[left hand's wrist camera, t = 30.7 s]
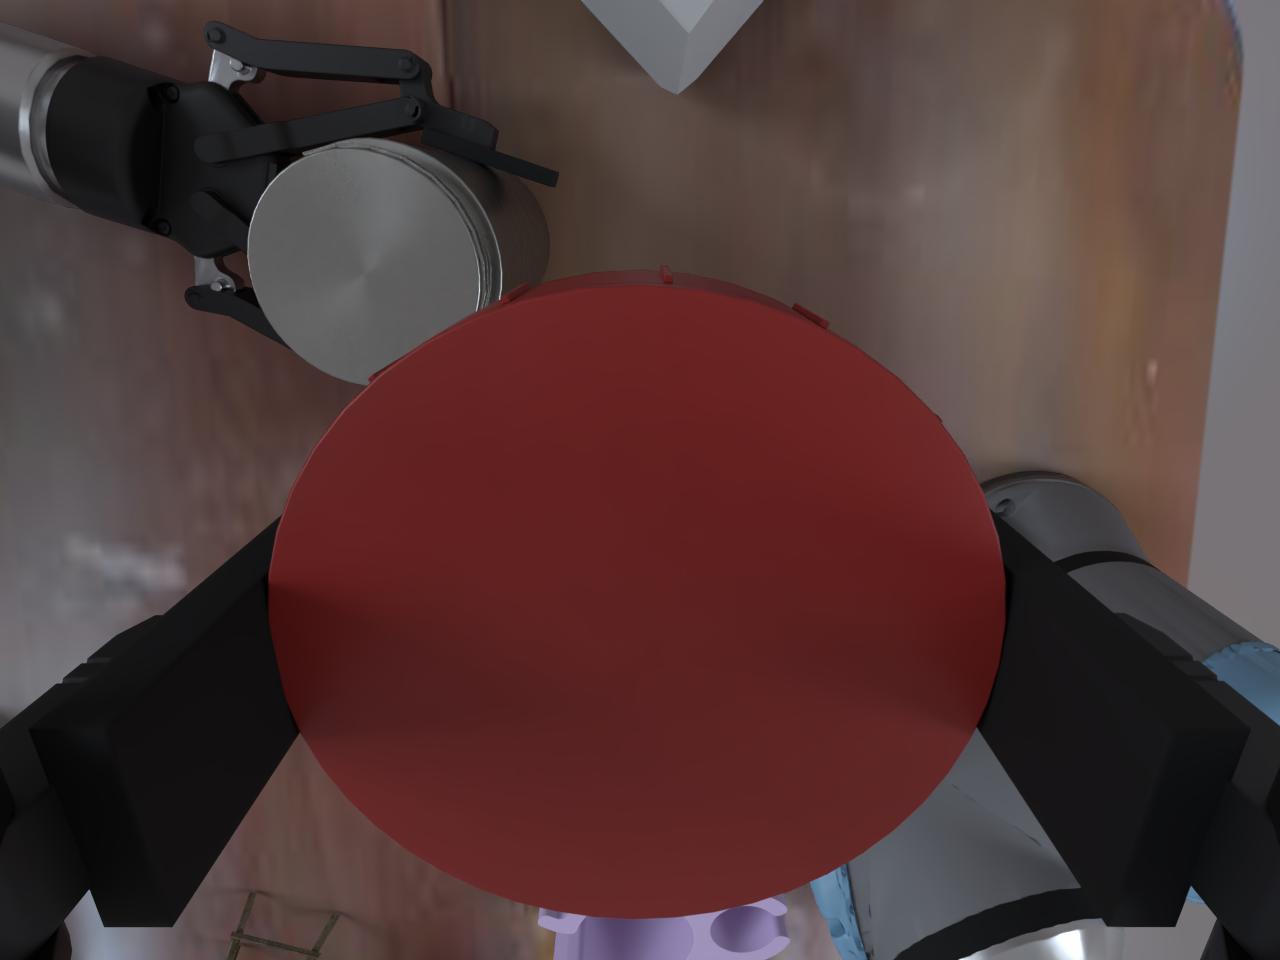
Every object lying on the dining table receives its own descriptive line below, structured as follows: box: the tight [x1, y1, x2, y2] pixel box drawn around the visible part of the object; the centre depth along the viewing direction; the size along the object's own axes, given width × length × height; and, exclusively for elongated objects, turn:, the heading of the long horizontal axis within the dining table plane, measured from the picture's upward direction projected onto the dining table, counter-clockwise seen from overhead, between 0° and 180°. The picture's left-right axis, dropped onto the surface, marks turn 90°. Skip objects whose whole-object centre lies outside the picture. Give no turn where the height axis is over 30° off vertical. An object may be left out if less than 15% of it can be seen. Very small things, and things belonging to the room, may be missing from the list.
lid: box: [268, 265, 1006, 919], centre depth 11 cm, size 10×10×2 cm
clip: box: [538, 893, 790, 960], centre depth 60 cm, size 20×12×7 cm, turn 97°
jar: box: [247, 137, 549, 386], centre depth 34 cm, size 9×9×20 cm
